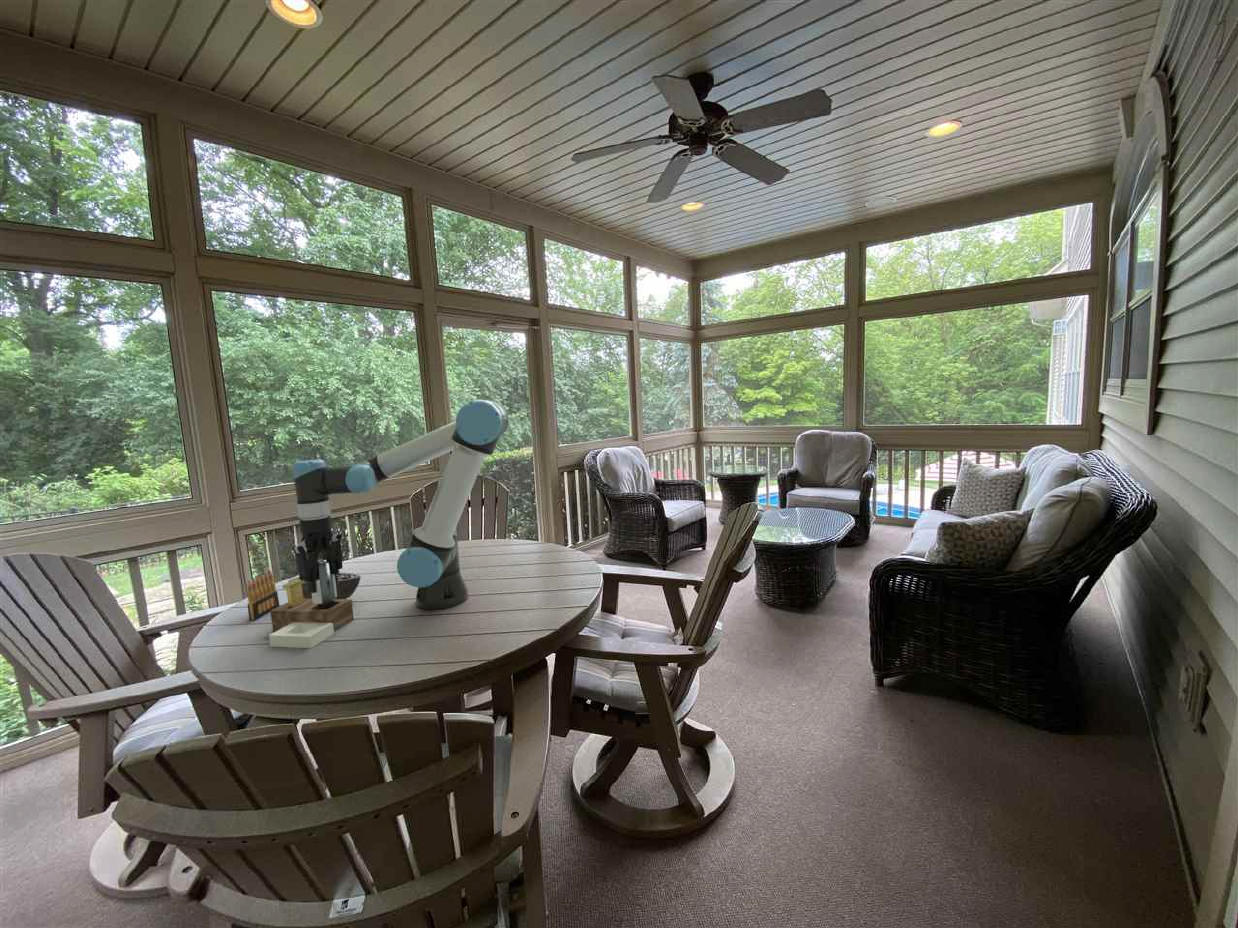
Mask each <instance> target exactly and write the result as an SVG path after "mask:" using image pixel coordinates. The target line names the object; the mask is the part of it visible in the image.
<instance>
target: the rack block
mask: <svg viewBox="0 0 1238 928" xmlns="http://www.w3.org/2000/svg"><path fill="white" fill-rule="evenodd" d="M333 635H335V631H334V628H333V623H312V622H293V623H291V624H289V625H287V626H285V627H283V628H282V629H280V630H278V631H276V632H272V633H270V634H269V635H268V638H269V644H270V645H269V646H270V647H277V648H278V647H279V648H296V649H297V648H299V649H300V648H301V649H302V648H303V649H312V648H314V647H316V646H317V645H318V644H320V643H322V642H323V641H325V640H327V639H328V638H330V637H331V636H333Z"/></svg>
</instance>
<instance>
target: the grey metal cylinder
mask: <svg viewBox="0 0 1238 928" xmlns="http://www.w3.org/2000/svg"><path fill="white" fill-rule="evenodd" d="M317 580H320V586H321V595H322V603H321V604H317V607H318V609H329V608H331V607H333V606H334V599H333V591H332V582H331V574H330V565H329V561H326V559H320V560H318V566H317Z"/></svg>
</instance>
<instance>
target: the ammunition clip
mask: <svg viewBox="0 0 1238 928" xmlns="http://www.w3.org/2000/svg"><path fill="white" fill-rule="evenodd" d="M247 601H248V603H247V613H248V621H249V622H250V621H251V622H254V621H257V620H259V619H261V618H262V617H264V616H265V615H268V614H269V613H270V611H271V610H273V609H275V608H277V607H279V606H280V601H279V594H278V590H277V589H276V583H275V580H274V574H273V572H272V571H271V570H270V569H268V573H267V572H265V573H264V575H263V573H261V574H260V577H259V575H257V576H256V579H255V577H253V578H252V581H251V580H250V579H249V580H248V581H247Z"/></svg>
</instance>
